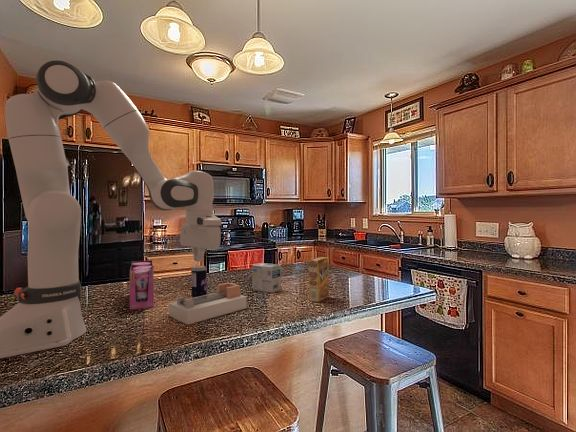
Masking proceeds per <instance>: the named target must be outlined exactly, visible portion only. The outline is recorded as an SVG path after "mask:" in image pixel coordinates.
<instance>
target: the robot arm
mask: <svg viewBox="0 0 576 432" xmlns="http://www.w3.org/2000/svg"><path fill="white" fill-rule="evenodd" d="M35 81H36V82H35V83H36V86H37V87H36V89H35V91H34V92H32V93H20V94H19V93H18V94H15V95H12V96H11V97H9V98H8V99H7V100H6V102H5V106H4V108H5V109H4V118H5V119H4V120H5V128H6V134H7V139H8V142H9V147H10V152H11V155H12V160H13V165H14V167H15V171H16V178H17V183H18V187H19V191H20V196H21V201H22V205H23V206H22V207H23V211H24V215H25V219H26V220H27V224H28V225H27V228H28V229H27V235H28V236H27V284H28V285H27V286H26V287H24V288H23V287H16V288H15V290H13V294H14V295H15V296H16V297H17V300H18V303H17V304H16V305H14V306H13V307H11V308H9V310H8V311H6V312H5V313H4V314H2V315H1V316H0V359H5V358H10V357H14V356H20V355H25V354H29V353H35V352H38V351H43V350H45V351H46V350H49V349H54V348H60V347H65V346H67V345H68V344H71V342H72V341H73V340H76V339H77V338H79V337H81V336H83V335H84V334H85V333H86V332H87V327H86V324H85V322H84V318H83V313H82V309H81V301H82V285H81V281H80V279H79V275H80V273H79V248H80V247H79V246H80V237H81V226H82V223H81V222H82V207H81V205H80V203H79V201H78V200H77V199H76V197H74V196H73V195H72V194H71V191H70V182H69V181H70V179H69V172H68V171H69V170H68V169H69V168H68V167H69V165H68V163H67V158H66V154H65V148H64V145H63V143H64V142H63V138H62V134H61V131H60V126H59V120H62V119H65V118H69V117H72V116H76V115H78V114H79V113H81V112H82V111H83V110H84V111H86V112H88V113H89V114H90V115H92V116H93V117H94V118H95V119H96V120H97V121H98V123H99V124H100V126H101V128H102V129H103V130H104V131H105V133H106V134H107V135H108V136H109V138H110V139H111V140H112V141H113V143H114V144H115V145H116V146H117V147H118V148H119V150H120V151H121V152H122V153H123V154H124V155H125V157H127V159H128V160H129V161H130V162H131V165H132V166H133V167H134V168H135V170H136V172H137V173H138V175H139V176H140V179H142V181H143V182H144V184H145V186H146V188H147V191H148V196H149V199H150V200H149V201H150V203H151V204H152V205H153V207H155V208H157V209H158V210H160V211H166V212H167V211H172V210H177V209H181V208H185V221H184V222H183V224H182V225H181V228H180V236H179V243H180V246H184V247H191V252H192V254H193V261H194V262H200V263H201V262H203V261H204V256H205V253H206V250H207V251H208V250H209V251H215V250H219V248H220V247H221V238H222V237H221V236H222V235H221V233H222V231H221V226H222V219H221V218H219V217H218V216H216V215H215V214H214V207H213V201H214V199H215V197H214V196H215V192H214V191H215V189H214V180H213V176H212V175H211V174H209V173H208V172H205V171H202V170H195V169H194V170H192V169H191V170H189V172H187V173H184V174H182V175H180V176H177V177H174V178H169V179H168V178H166V176H164V175H163V173H162V171H161V169H160V168H159V167H158V165H157V163H156V162H155V160H154V158H153V157H152V154H151V152H150V146H149V145H150V143H149V142H150V129H149V126H148V125H147V123H146V120H145V119H144V117H143V115H142V113H141V112H140V110H139V109H138V108H137V106H136V105H135V103H133V101H132V100H131V99H130V98H129V96H128V95H127V94H126V92H124V91H123V90H122V89H121V88H120V86H119V85H118V84H117V83H115V82H113V81H111V80H100V81H96V82H95V80H94V79H93V78H92V77H91V76H89V75H88V74H86V73H85V72H83V71H82V70H80V69H79V68H77V67H76V66H74V65H73V64H71V63H69V62H66V61H64V60H49V61H47V62H45V63H44V64H42V65H41V66H40V67H39V68H38V70H37V72H36V76H35Z"/></svg>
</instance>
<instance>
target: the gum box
mask: <svg viewBox="0 0 576 432" xmlns="http://www.w3.org/2000/svg"><path fill="white" fill-rule="evenodd" d="M153 265H154V264H153V259H151V260H150V259H149V260H137V261H136V260H135V261H133V260H132V261H131V266H130V269H129V310H139V309H148V308H154V307H155V303H154V302H155V288H154V287H155V285H154V284H155V283H154V282H155V280H154V279H155V278H154V277H155V273H154V266H153Z"/></svg>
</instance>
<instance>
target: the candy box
mask: <svg viewBox="0 0 576 432" xmlns="http://www.w3.org/2000/svg"><path fill="white" fill-rule="evenodd" d="M329 262H330V261H329V257H324V256H318V257H316V258H312V259H308V288H309V289H308V290H309V291H308V292H309V299H308V300H309V302H316V303H319V302H322V301H323V300H325V299H328V298H329V297H330V282H329V281H330V280H329V279H330V277H329V276H330V273H329V270H330V269H329V268H330V266H329ZM327 297H328V298H327Z"/></svg>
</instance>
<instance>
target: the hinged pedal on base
mask: <svg viewBox="0 0 576 432" xmlns="http://www.w3.org/2000/svg"><path fill="white" fill-rule="evenodd" d="M223 291H226V296H227V297H223V298H219V299H215V300H211V301H207V302H203V303H199V304H195V305H194V300H188V299H192V298H193V297H192V298H191V297H190V298H188V299H187V298H186V299H185V296H177V297H176V301H172V302H169V303H168V316H169V317H171V318H173V319H175V320H177V321H179V322H182V323H183V324H186V325H191V324H195V323H198V322H199V323H200V322H202V321H207V320H209V319H212V318H217V317H220V316H223V315H228V314H230V313H234V312H235V313H236V312H238V311H241V310H244V309H247V296H246V295H242V294H241V284H240V285H239V284H236V283H233V282H223V283H220V284H216V293H218V292H223ZM214 293H215V292H214ZM214 293H212V294H214ZM210 294H211V293H210ZM210 294H208V295H210ZM204 296H205V295H204ZM200 297H201V296H200ZM195 298H197V297H195ZM184 300H188V301H186V305H183V304H181V301H184Z"/></svg>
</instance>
